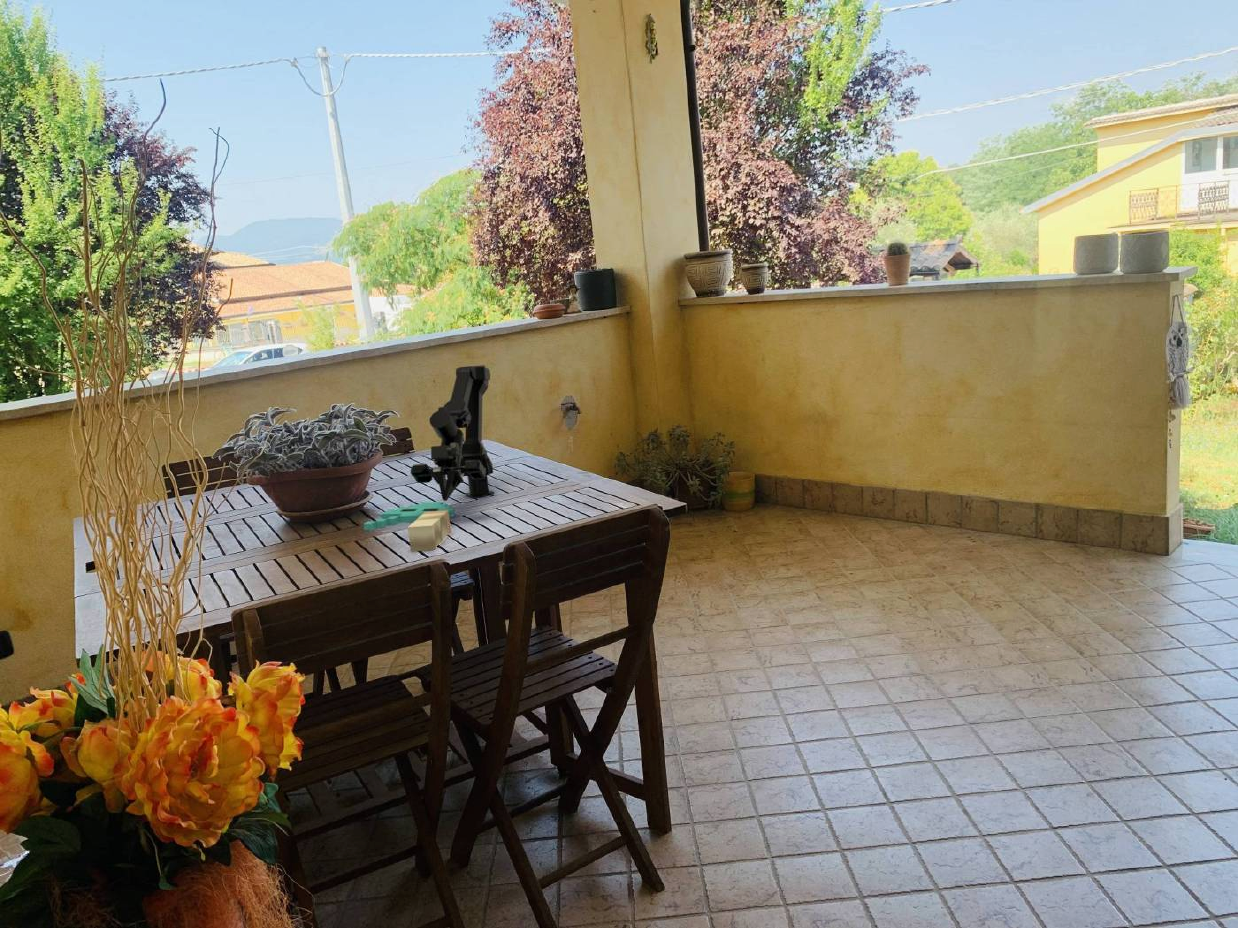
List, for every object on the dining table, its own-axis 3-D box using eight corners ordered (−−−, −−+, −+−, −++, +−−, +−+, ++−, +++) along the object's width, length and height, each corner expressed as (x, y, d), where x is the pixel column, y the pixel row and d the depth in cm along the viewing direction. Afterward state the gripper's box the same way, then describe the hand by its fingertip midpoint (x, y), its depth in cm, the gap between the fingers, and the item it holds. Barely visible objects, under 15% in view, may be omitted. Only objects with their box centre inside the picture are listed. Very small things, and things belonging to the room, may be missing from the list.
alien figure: (433, 531, 235) (466, 509, 254) (432, 522, 235) (465, 501, 253) (364, 532, 241) (402, 510, 260) (363, 524, 240) (400, 502, 259)
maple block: (425, 511, 230) (407, 527, 217) (448, 510, 229) (431, 525, 216) (428, 534, 231) (411, 551, 218) (451, 533, 230) (435, 549, 218)
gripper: (407, 435, 238) (398, 487, 230) (476, 429, 235) (470, 482, 227) (421, 456, 247) (414, 507, 240) (488, 451, 245) (483, 503, 237)
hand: (444, 500), depth 236 cm, fingers closed
